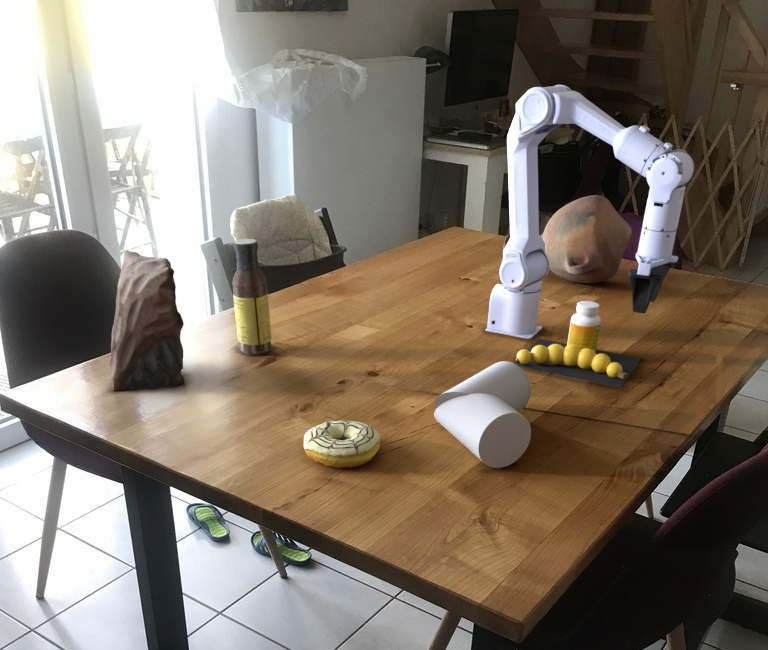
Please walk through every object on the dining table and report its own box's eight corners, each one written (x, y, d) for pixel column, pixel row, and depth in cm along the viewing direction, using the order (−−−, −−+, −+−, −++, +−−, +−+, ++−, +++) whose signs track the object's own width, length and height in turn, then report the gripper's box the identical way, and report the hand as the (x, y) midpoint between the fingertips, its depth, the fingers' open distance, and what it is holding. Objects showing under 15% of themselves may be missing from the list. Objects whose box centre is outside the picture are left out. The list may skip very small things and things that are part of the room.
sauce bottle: (267, 342, 154) (262, 235, 143) (275, 353, 149) (270, 243, 138) (234, 346, 152) (226, 237, 141) (241, 357, 147) (233, 245, 137)
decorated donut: (321, 433, 122) (321, 410, 120) (388, 445, 119) (389, 422, 117) (293, 463, 113) (292, 439, 111) (364, 477, 110) (365, 452, 108)
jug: (638, 282, 195) (523, 282, 211) (645, 195, 190) (526, 202, 205) (613, 283, 179) (490, 284, 195) (619, 189, 174) (492, 197, 189)
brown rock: (130, 362, 144) (113, 248, 133) (200, 364, 144) (189, 250, 133) (108, 390, 133) (88, 268, 122) (185, 393, 133) (171, 271, 122)
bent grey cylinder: (402, 409, 126) (463, 467, 111) (419, 345, 122) (484, 395, 106) (495, 416, 134) (564, 470, 119) (514, 355, 130) (588, 403, 114)
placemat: (511, 366, 146) (511, 364, 146) (538, 340, 159) (539, 338, 158) (620, 389, 139) (621, 387, 139) (641, 360, 151) (641, 358, 151)
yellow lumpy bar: (513, 366, 146) (515, 346, 143) (520, 354, 151) (522, 335, 149) (625, 383, 140) (629, 362, 138) (628, 370, 145) (632, 350, 143)
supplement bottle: (595, 361, 149) (604, 309, 144) (565, 358, 150) (573, 307, 144) (594, 351, 153) (603, 300, 148) (565, 348, 154) (573, 298, 149)
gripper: (675, 240, 131) (658, 321, 138) (690, 223, 142) (674, 299, 149) (631, 234, 133) (617, 314, 141) (650, 218, 144) (636, 293, 152)
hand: (643, 306), depth 145 cm, fingers open, 7 cm apart
